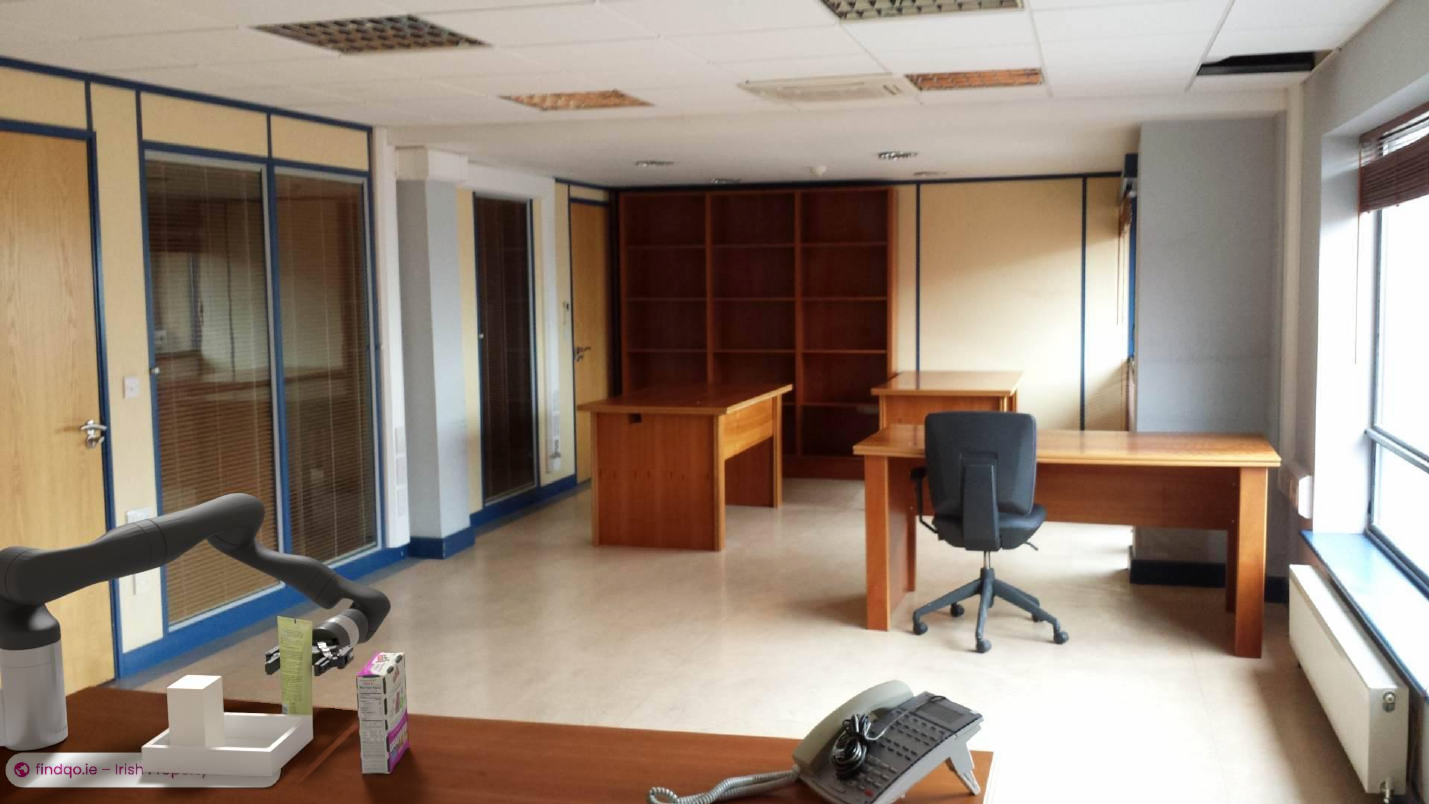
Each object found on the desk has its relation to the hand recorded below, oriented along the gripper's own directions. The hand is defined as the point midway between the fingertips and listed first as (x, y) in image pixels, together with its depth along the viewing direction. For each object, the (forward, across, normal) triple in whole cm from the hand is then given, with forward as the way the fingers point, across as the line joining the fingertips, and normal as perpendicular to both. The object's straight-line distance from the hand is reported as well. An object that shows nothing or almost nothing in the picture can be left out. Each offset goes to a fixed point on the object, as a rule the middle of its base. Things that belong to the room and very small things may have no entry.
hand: (291, 670), depth 202 cm
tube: (-2, 0, -11) cm, 11 cm away
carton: (+12, +10, -10) cm, 19 cm away
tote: (+12, +5, -11) cm, 17 cm away
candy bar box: (+10, -20, -11) cm, 25 cm away
